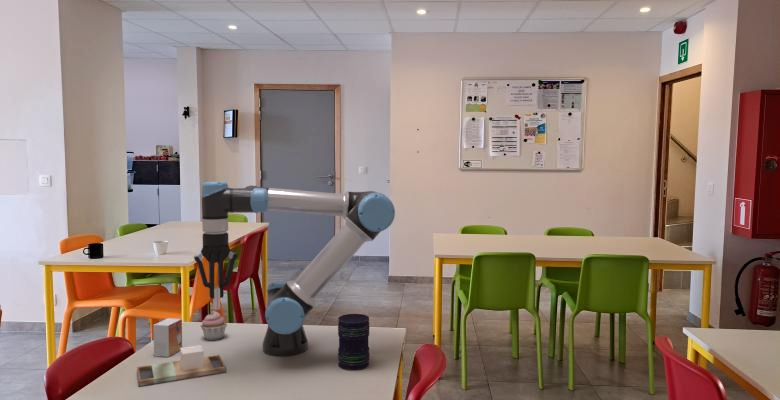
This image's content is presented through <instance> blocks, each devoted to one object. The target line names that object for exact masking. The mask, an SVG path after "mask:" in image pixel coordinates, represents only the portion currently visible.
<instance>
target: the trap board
mask: <svg viewBox="0 0 780 400" xmlns="http://www.w3.org/2000/svg"><path fill="white" fill-rule="evenodd" d="M225 373H226V374H227V365H226V364H225V363H224V361H223V359H222V357H221V355H220V354H217V355H216V354H213V355H207V356H204V367H203V368H196V369H190V370H184V371H183V370H182V367H181V361H180V360H175V361H169V362H161V363H155V364H149V365H143V366H136V374H137V381H138V388H140V387H147V386H154V385H160V384H165V383H170V382H177V381H178V382H179V381H182V380H189V379H195V378H202V377H209V376H213V375H214V376H215V375H219V374H220V375H221V374H225Z"/></svg>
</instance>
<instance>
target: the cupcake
mask: <svg viewBox="0 0 780 400" xmlns="http://www.w3.org/2000/svg"><path fill="white" fill-rule="evenodd" d="M199 326H200V328H201V330H202V331H203V336H204V339H205V340H207V341H218V340H221V339H223V338H224V335H225V331H226V328H227V326H228V323H227V322H225V317H223V316H221V313H219V312H218V311H216V310H212V311H211V313H210V314H207V315H206V316H205V317H204V319H203V320H202V321H201V325H199Z"/></svg>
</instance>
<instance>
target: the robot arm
mask: <svg viewBox="0 0 780 400" xmlns="http://www.w3.org/2000/svg"><path fill="white" fill-rule="evenodd" d="M268 211H274V212H283V213H284V212H285V213H295V214H296V213H299V214H300V213H301V214H308V215H310V214H311V215H324V216H333V217H334V216H335V217H342V218H343V220H345V221H344V225H342V227H341V228H340V229H339V230H338V231H337V233H335V235H334V236H333V237H332V238H331V239H330V240H329V241H328V243H326V245H324V247H323V248H322V249H321V250H320V252H319V253H317V255H316V256H315V257H314V258H313V260H312V261H310V263H309V264H308V265H307V266H306V267H305V268H304V270H302V272H301V273H300V274H298V276H297V277H296V278H295V280H280V281H278V280H277V281H271V282H269V283H268V284H267V289H266V293H267V300H266V301H267V302H266V308H265V311H264V317H265V318H264V319H265V320H266V324H267V329H266V332H265V334H264V337H263V341H262V351H263V353H265V354H268V355H271V356H278V357H279V356H280V357H281V356H283V357H285V356H286V357H287V356H293V355H297V354H300V353H303V352H305V351H306V350H308V347H309V340H308V337H307V335H306V331H305V328H304V326H303V325H304V324H303V323H304V321H305V318H306V317H307V316H308V314H309V313H310V312H311V311H312V310H313V308H315V306H316V298H317V297H318V296H319V295H320V294H321V292H322V291H323V290H324V289H325V288H326V287H327V285H329V283H330V282H331V281H332V280H333V279H334V278H335V276H336V275H337V274H338V273H339V272H340V271H341V270H342V269H343V267H344V266H345V265H346V264H347V263H348V262H349V261H350V260H351V259H352V257H353V256H354V255H355V254H356V253H357V252H358V251H359V250H360V248H361V247H362V246H363V245H364V244H365V243H366V242H373V241H374V240H375V239H376V237H378V235H379V234H380V233H381V232H383V231H384V230H387V229H388V228H389V227H390V226H391V225H392V224H393V222H394V220H395V216H396V209H395V206H394V204H393V202H392V200H391V199H390V198H389V196H387V195H386V194H384V193H382V192H376V191H373V190H371V191H370V190H367V191H345V193H335V192H322V191H314V190H313V191H312V190H311V191H310V190H302V189H301V190H300V189H287V188H278V187H276V188H275V187H265V186H264V187H263V186H258V185H248V186H245V187H243V188H241V187H237V188H232V187H229V185H228V183H227V181H206V182H203V183H202V187H201V213H202V218H201V219H202V232H203V233H202V247H201V250H200V253H199V254H197V255H194V256H193V260H194V261H195V262H196V264H197V267H198V270H199V274H200V278H201V281H202V285H203V286H204V287H205V288H208V290H209V294H208V295H209V298H210V299H212V308H213V309H214V311H217V310H221V298H224V288H225V287H227V286H229V285H230V283H231V278H232V275H233V270H234V266H235V262H236V260H237V258H238V256H239V254H237V253H236V252H233V251H231V249H230V246H229V233H228V231H229V213H231V214H232V213H251V214H253V213H254V214H257V213H258V214H259V213H266V212H268ZM203 257H204V258H205V260H206V261H207V262H208V278H207V276H206V275H207V274H206V272H205V268H204V264H203ZM227 257H228V258H229V259H228V264H227V268H226V272H225V275H224V261H225V260H226V259H227ZM216 263H217V281H218V283H217V284H218V286H215V264H216ZM224 276H225V277H224Z"/></svg>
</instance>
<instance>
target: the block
mask: <svg viewBox="0 0 780 400" xmlns="http://www.w3.org/2000/svg"><path fill="white" fill-rule="evenodd" d="M179 353H180V354H179V357H180V360H179V361H181V367H182V370H183V371H184V370H190V369H196V368H203V367H204V357H205V354H204V353H205V351H204V348H203V347H202V345H201V344H198V345H191V346H185V347H183V346H182V348H180V351H179Z"/></svg>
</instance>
